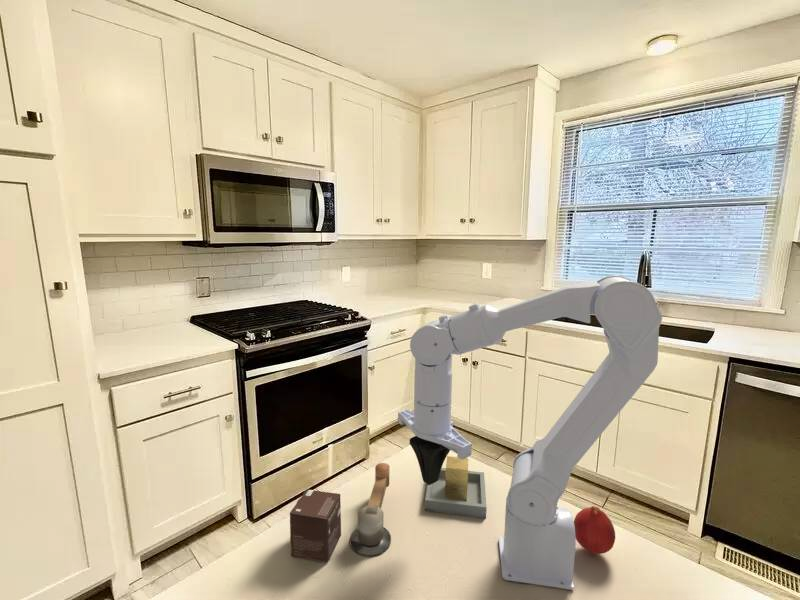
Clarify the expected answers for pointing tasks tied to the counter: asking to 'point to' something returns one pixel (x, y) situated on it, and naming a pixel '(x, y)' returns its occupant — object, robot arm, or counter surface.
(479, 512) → the tray
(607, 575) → the counter surface
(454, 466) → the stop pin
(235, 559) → the counter surface
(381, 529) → the crank
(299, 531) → the box
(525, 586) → the counter surface
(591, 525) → the onion
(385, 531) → the crank base
